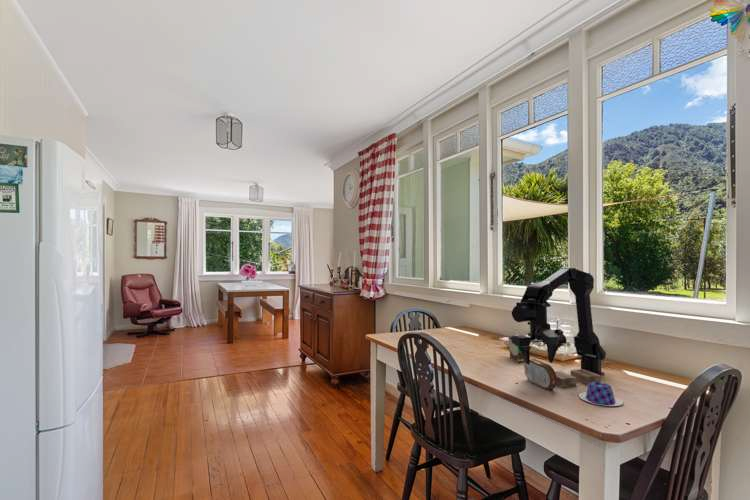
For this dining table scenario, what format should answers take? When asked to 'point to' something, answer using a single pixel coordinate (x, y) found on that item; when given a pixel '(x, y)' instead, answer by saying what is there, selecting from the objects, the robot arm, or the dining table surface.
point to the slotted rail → (576, 378)
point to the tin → (541, 374)
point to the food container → (515, 352)
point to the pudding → (600, 394)
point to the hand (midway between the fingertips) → (539, 363)
